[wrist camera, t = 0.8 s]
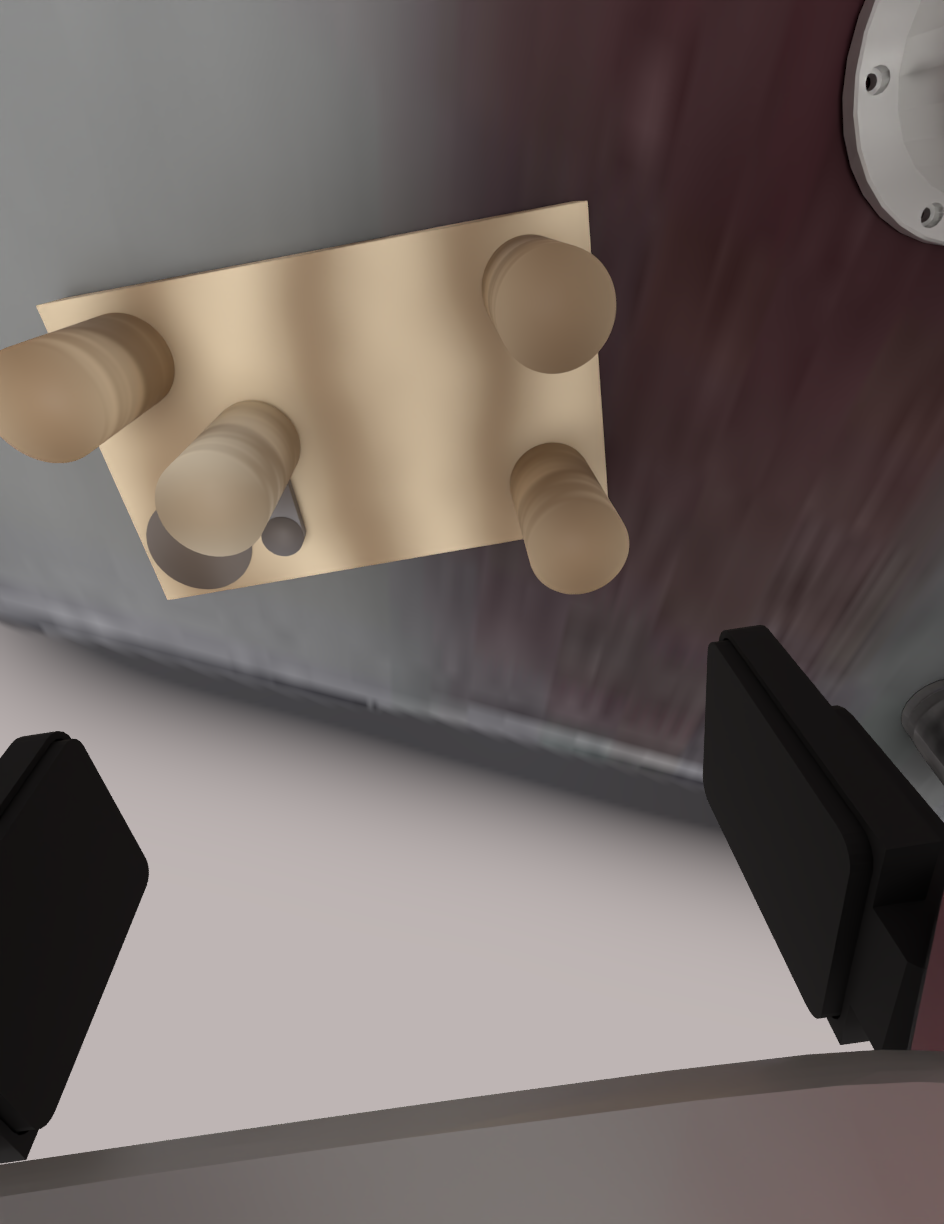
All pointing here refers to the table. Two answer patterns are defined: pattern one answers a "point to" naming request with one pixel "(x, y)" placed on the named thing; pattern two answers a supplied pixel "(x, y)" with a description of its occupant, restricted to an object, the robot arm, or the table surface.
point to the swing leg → (235, 485)
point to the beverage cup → (927, 725)
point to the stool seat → (355, 396)
